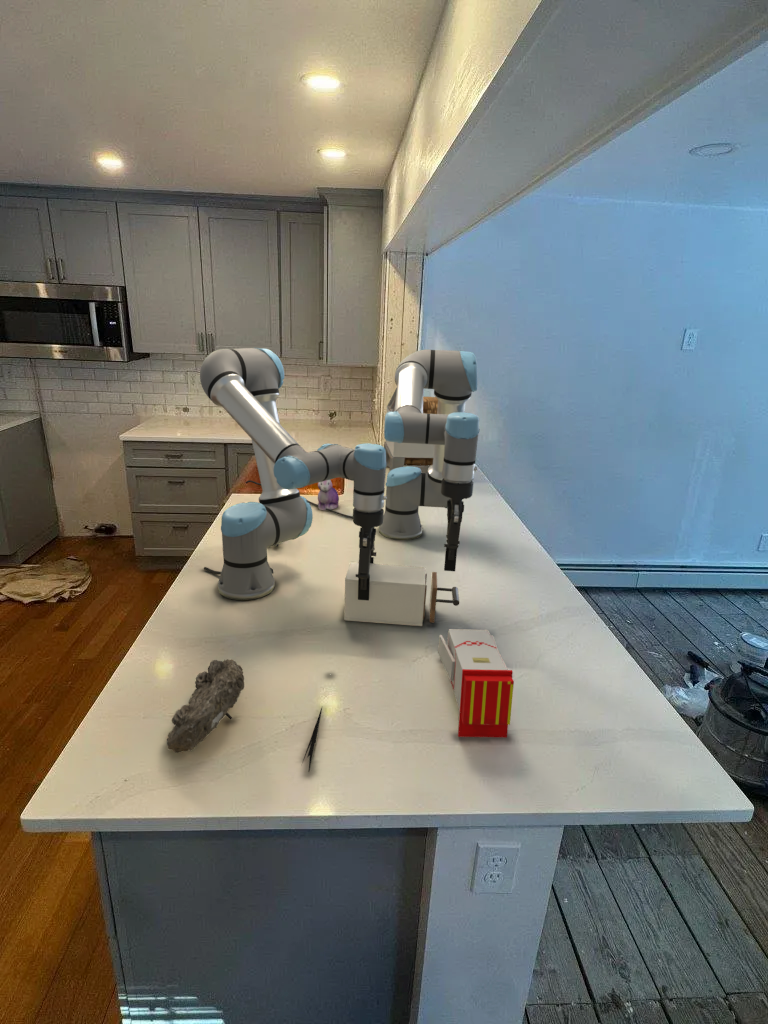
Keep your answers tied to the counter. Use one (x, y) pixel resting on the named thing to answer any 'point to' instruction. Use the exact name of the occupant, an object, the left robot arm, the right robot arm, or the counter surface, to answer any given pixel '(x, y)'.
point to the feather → (313, 740)
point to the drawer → (434, 595)
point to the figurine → (327, 496)
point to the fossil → (206, 705)
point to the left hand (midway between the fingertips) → (365, 589)
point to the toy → (478, 682)
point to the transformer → (410, 451)
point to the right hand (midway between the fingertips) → (449, 569)
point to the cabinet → (387, 595)
